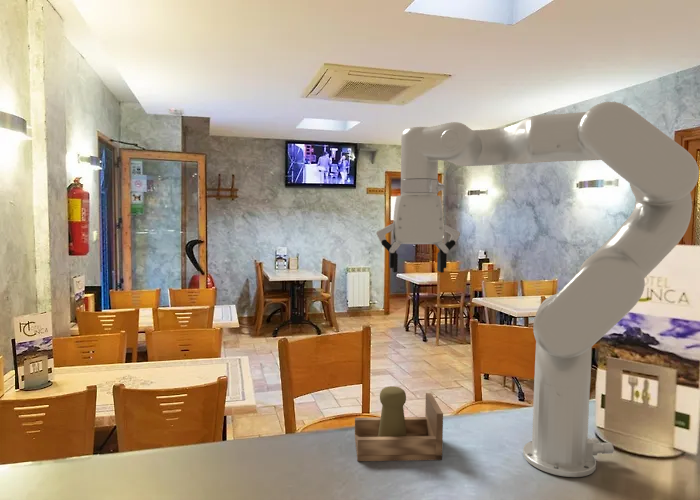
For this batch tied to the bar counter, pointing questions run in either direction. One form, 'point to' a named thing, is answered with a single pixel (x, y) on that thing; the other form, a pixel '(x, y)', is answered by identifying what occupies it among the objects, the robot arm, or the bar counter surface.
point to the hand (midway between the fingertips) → (417, 271)
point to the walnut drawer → (415, 446)
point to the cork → (392, 412)
